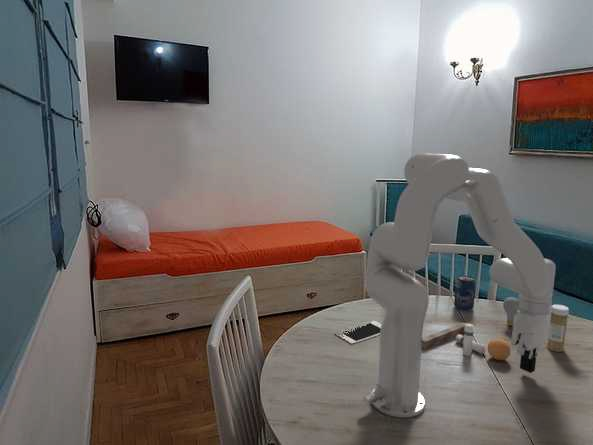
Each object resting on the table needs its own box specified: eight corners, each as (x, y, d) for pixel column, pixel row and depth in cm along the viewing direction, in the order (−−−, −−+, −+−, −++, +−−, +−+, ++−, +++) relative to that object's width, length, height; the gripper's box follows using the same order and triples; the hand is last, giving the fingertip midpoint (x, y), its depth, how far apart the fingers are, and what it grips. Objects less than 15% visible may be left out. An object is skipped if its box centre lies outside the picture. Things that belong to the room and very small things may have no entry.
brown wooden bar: (424, 349, 131) (425, 341, 130) (419, 346, 132) (419, 339, 132) (468, 331, 143) (469, 324, 143) (463, 329, 145) (463, 322, 144)
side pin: (468, 357, 126) (470, 328, 125) (460, 353, 128) (463, 325, 127) (473, 354, 128) (475, 325, 126) (465, 351, 130) (468, 322, 128)
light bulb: (519, 324, 149) (522, 296, 147) (517, 330, 144) (520, 301, 142) (502, 320, 152) (505, 293, 150) (500, 326, 147) (502, 298, 145)
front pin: (483, 344, 127) (458, 332, 135) (478, 351, 127) (454, 339, 135) (486, 348, 129) (462, 336, 136) (482, 355, 128) (458, 343, 136)
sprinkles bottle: (566, 349, 131) (572, 307, 128) (559, 353, 128) (564, 310, 126) (551, 344, 135) (556, 302, 132) (543, 347, 132) (548, 305, 130)
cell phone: (393, 332, 144) (393, 329, 144) (351, 346, 134) (352, 343, 134) (374, 322, 151) (374, 320, 151) (333, 335, 141) (333, 332, 141)
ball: (479, 343, 127) (488, 363, 124) (495, 336, 122) (504, 357, 120) (493, 341, 130) (502, 361, 127) (509, 334, 125) (518, 355, 122)
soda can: (455, 311, 160) (457, 280, 157) (452, 304, 166) (454, 274, 164) (475, 312, 159) (478, 281, 156) (471, 305, 165) (473, 275, 163)
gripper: (534, 295, 120) (527, 356, 124) (504, 306, 112) (498, 372, 115) (563, 303, 114) (555, 367, 118) (533, 316, 106) (526, 385, 109)
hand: (527, 369), depth 116 cm, fingers closed
